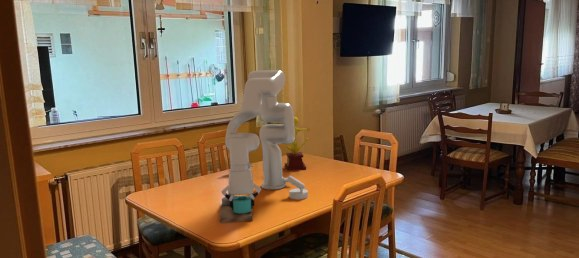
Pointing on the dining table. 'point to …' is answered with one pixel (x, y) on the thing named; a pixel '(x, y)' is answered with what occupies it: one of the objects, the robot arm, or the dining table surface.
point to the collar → (242, 204)
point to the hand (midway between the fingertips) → (242, 208)
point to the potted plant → (295, 152)
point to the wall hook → (297, 193)
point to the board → (232, 213)
